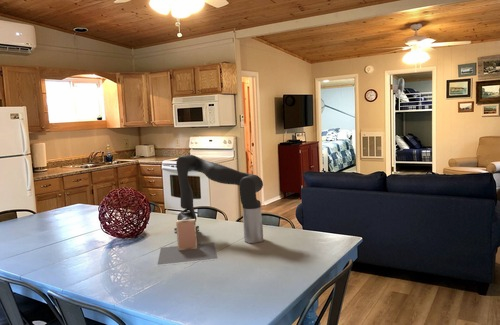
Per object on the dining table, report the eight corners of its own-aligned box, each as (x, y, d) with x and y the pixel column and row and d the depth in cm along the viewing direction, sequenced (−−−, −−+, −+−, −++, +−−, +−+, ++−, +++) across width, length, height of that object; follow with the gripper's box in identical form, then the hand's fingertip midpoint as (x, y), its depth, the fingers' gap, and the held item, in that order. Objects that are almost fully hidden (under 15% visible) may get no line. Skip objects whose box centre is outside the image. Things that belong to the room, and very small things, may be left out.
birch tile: (197, 247, 194) (195, 218, 192) (197, 248, 192) (195, 219, 190) (178, 249, 192) (176, 220, 191) (178, 250, 190) (176, 221, 189)
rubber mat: (214, 244, 200) (213, 242, 200) (217, 260, 176) (217, 258, 176) (161, 249, 196) (160, 247, 196) (157, 266, 172) (157, 264, 172)
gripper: (173, 219, 209) (172, 227, 191) (199, 217, 210) (200, 225, 193) (174, 233, 209) (173, 243, 192) (200, 231, 211) (201, 240, 194)
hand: (186, 234), depth 193 cm, fingers closed
